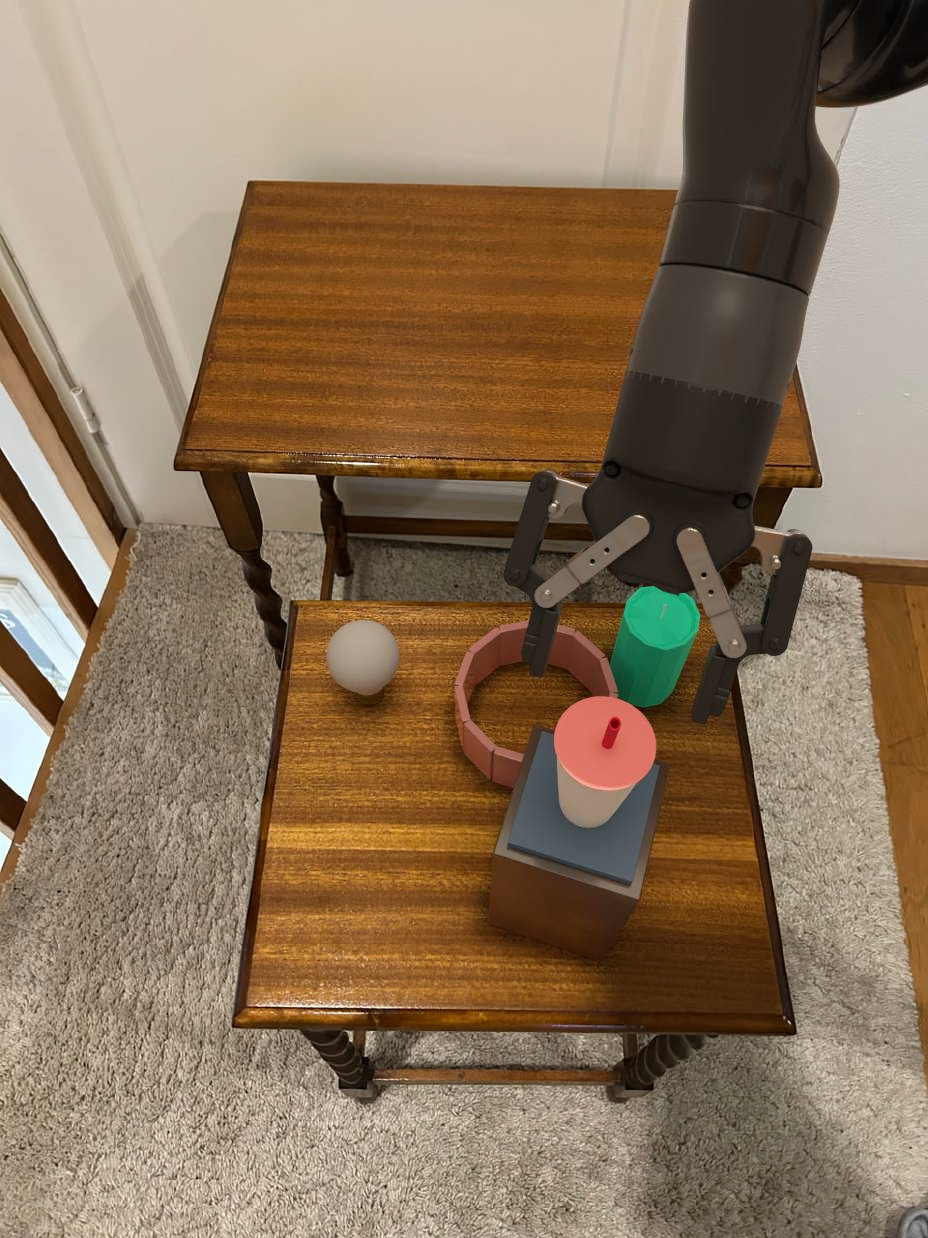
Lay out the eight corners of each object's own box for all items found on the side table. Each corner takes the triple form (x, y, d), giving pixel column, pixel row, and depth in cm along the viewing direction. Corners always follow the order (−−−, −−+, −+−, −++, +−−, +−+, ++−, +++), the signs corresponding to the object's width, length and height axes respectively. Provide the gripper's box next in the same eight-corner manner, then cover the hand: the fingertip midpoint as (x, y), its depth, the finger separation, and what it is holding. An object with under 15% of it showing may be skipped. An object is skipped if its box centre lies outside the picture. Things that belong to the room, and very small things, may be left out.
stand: (629, 850, 74) (671, 763, 59) (602, 963, 70) (639, 901, 55) (520, 816, 76) (533, 723, 60) (487, 924, 71) (492, 853, 56)
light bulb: (391, 734, 80) (381, 680, 71) (326, 715, 81) (309, 659, 72) (414, 675, 82) (407, 617, 74) (352, 657, 83) (338, 597, 75)
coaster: (657, 770, 59) (660, 765, 58) (630, 885, 55) (632, 882, 54) (541, 735, 60) (542, 730, 59) (507, 846, 56) (507, 842, 56)
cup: (620, 855, 55) (654, 781, 45) (532, 829, 56) (546, 749, 46) (639, 773, 58) (676, 685, 47) (555, 749, 59) (573, 657, 48)
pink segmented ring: (621, 677, 82) (631, 644, 77) (585, 810, 76) (594, 783, 71) (483, 638, 84) (484, 603, 79) (437, 765, 78) (434, 735, 73)
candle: (686, 666, 83) (716, 593, 73) (658, 719, 80) (685, 651, 70) (624, 636, 84) (646, 560, 74) (595, 687, 82) (613, 616, 72)
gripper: (549, 344, 42) (471, 678, 46) (874, 416, 40) (760, 761, 44) (568, 353, 49) (498, 642, 53) (844, 415, 47) (748, 711, 51)
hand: (617, 695), depth 49 cm, fingers open, 8 cm apart
